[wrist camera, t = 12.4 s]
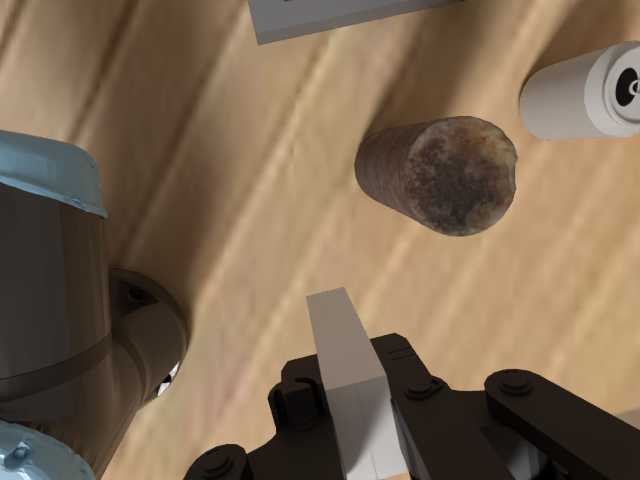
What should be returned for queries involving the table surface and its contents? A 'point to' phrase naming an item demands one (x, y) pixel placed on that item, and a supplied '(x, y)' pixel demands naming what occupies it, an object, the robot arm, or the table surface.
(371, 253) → the table surface
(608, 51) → the can
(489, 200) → the dark brown tall cylinder
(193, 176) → the table surface
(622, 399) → the table surface
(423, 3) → the grey egg tray
